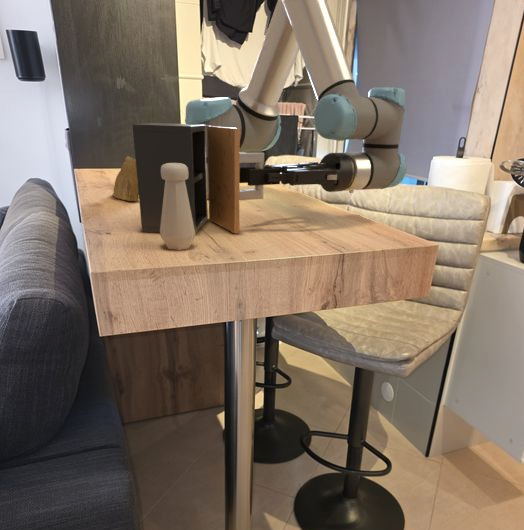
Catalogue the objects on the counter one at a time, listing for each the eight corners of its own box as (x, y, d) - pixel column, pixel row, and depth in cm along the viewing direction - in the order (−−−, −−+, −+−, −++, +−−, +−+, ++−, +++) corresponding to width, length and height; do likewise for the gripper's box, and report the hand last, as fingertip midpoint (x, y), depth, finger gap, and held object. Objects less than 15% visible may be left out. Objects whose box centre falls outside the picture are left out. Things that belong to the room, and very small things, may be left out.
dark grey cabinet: (207, 220, 95) (205, 124, 87) (195, 234, 84) (190, 126, 76) (161, 217, 96) (154, 122, 88) (142, 232, 84) (132, 124, 76)
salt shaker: (165, 252, 73) (158, 165, 67) (157, 243, 77) (151, 161, 71) (200, 249, 75) (197, 165, 69) (190, 241, 80) (187, 161, 74)
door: (238, 217, 98) (239, 126, 90) (266, 230, 88) (269, 129, 80) (209, 219, 95) (206, 125, 87) (234, 233, 85) (234, 128, 77)
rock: (148, 193, 110) (154, 181, 118) (122, 162, 105) (130, 152, 113) (116, 219, 113) (123, 206, 121) (89, 190, 108) (99, 179, 116)
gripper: (366, 196, 90) (265, 204, 79) (318, 185, 102) (224, 191, 92) (372, 155, 87) (266, 158, 76) (321, 149, 99) (224, 151, 88)
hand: (244, 176), depth 84 cm, fingers open, 3 cm apart
